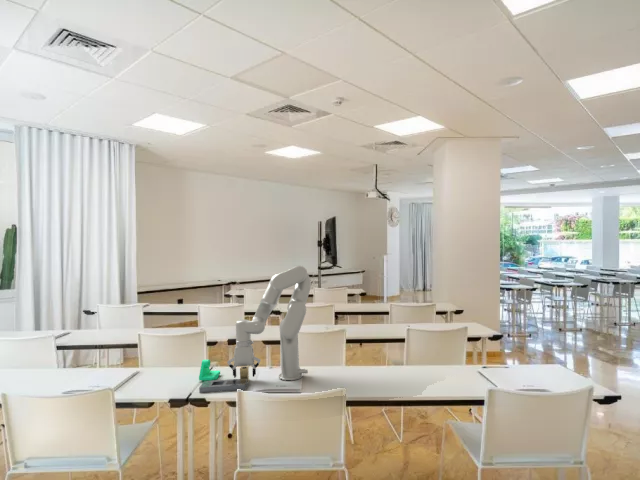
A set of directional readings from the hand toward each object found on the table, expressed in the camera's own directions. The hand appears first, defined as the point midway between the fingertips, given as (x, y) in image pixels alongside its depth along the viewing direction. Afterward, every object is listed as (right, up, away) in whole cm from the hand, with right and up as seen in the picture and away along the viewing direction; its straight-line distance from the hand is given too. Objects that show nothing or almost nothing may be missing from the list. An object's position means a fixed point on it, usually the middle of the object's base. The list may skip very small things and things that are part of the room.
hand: (244, 376), depth 203 cm
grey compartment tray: (-8, -2, -10) cm, 13 cm away
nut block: (0, -2, 0) cm, 2 cm away
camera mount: (-20, -4, +7) cm, 21 cm away
